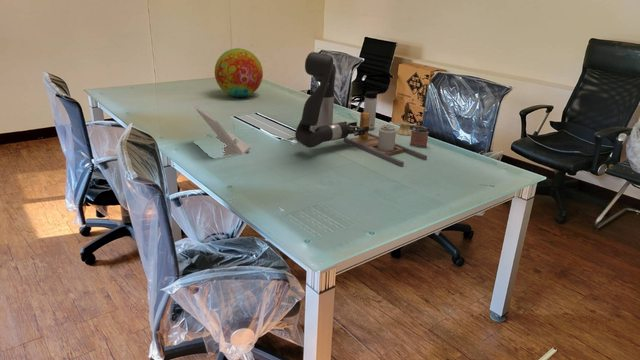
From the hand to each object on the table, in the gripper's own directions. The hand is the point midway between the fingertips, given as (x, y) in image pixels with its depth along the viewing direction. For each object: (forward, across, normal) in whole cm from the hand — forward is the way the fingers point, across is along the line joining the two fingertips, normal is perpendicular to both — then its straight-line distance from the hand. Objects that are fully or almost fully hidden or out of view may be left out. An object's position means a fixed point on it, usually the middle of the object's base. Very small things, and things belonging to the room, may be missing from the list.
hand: (362, 126), depth 217 cm
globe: (-7, +110, +8) cm, 110 cm away
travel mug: (+18, +15, +8) cm, 25 cm away
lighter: (+20, -18, +8) cm, 28 cm away
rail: (+1, -14, +8) cm, 16 cm away
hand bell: (+30, 0, +8) cm, 31 cm away
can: (+1, -16, +8) cm, 18 cm away
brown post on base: (+1, -9, +8) cm, 12 cm away
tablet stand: (-60, +28, +8) cm, 66 cm away
